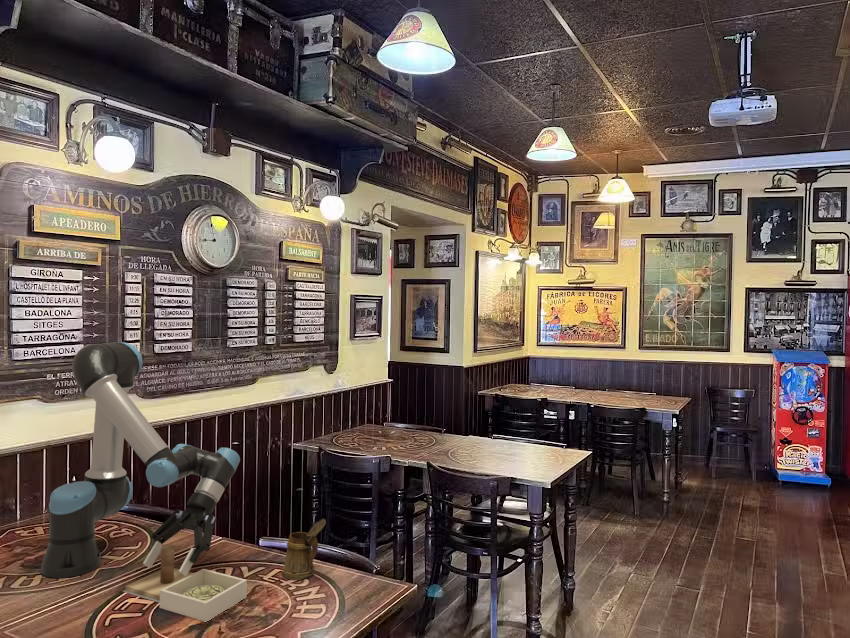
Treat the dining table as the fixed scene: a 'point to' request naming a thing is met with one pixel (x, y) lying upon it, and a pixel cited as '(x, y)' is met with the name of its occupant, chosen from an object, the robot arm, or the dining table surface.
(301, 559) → the wooden mug
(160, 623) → the dining table surface
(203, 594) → the decorated donut
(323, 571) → the dining table surface
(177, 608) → the wooden box
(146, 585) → the oak cover
